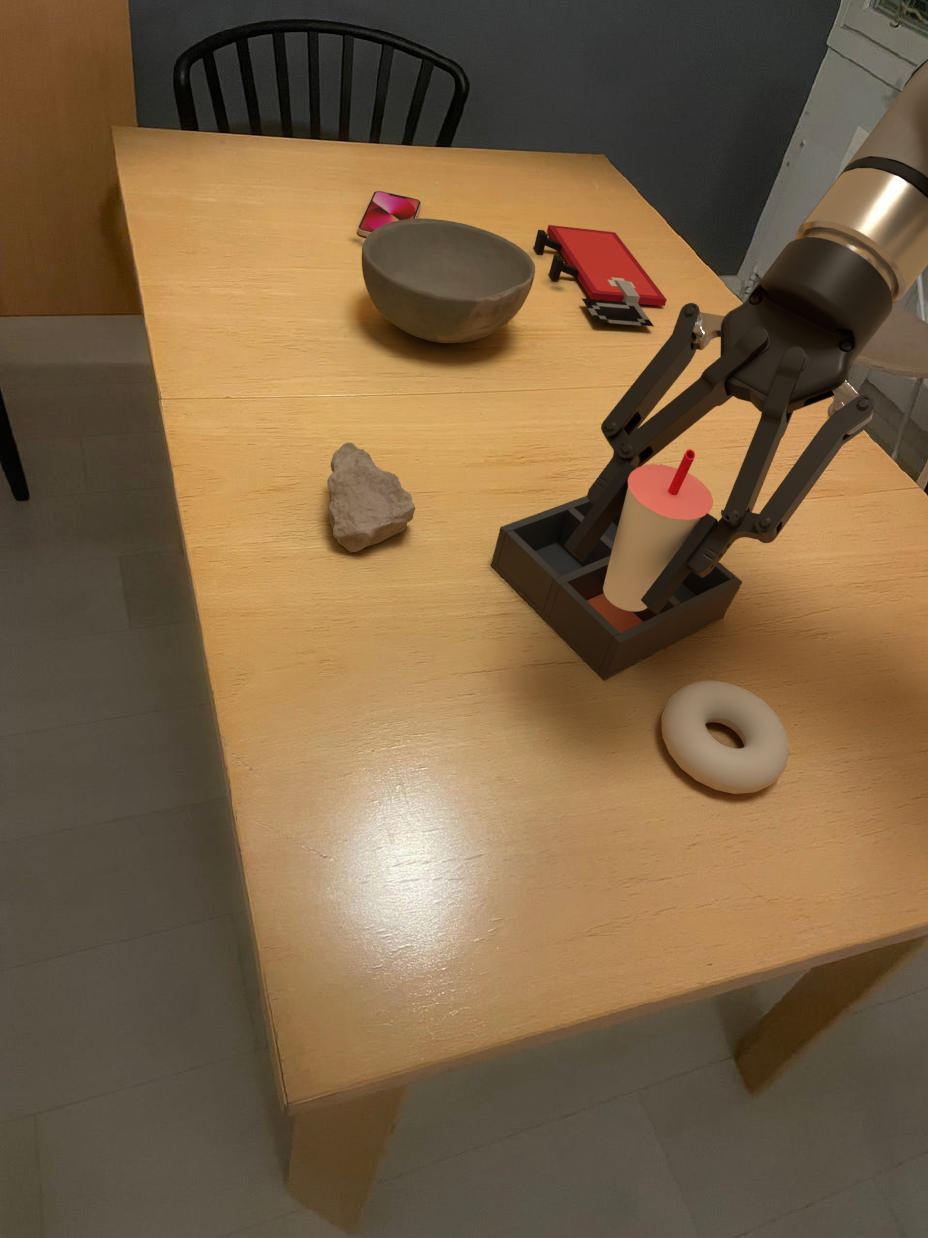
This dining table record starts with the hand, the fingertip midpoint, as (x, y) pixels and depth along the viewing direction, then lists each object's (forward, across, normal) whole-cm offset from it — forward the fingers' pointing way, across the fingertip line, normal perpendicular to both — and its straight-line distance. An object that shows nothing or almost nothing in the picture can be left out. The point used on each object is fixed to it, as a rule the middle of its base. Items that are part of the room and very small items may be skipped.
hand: (611, 579), depth 55 cm
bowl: (-15, +49, -39) cm, 64 cm away
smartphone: (-27, +75, -51) cm, 94 cm away
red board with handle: (-37, +47, -61) cm, 86 cm away
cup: (0, 0, -5) cm, 5 cm away
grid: (0, +7, -24) cm, 25 cm away
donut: (+5, -10, -19) cm, 22 cm away
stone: (+8, +27, -16) cm, 32 cm away
